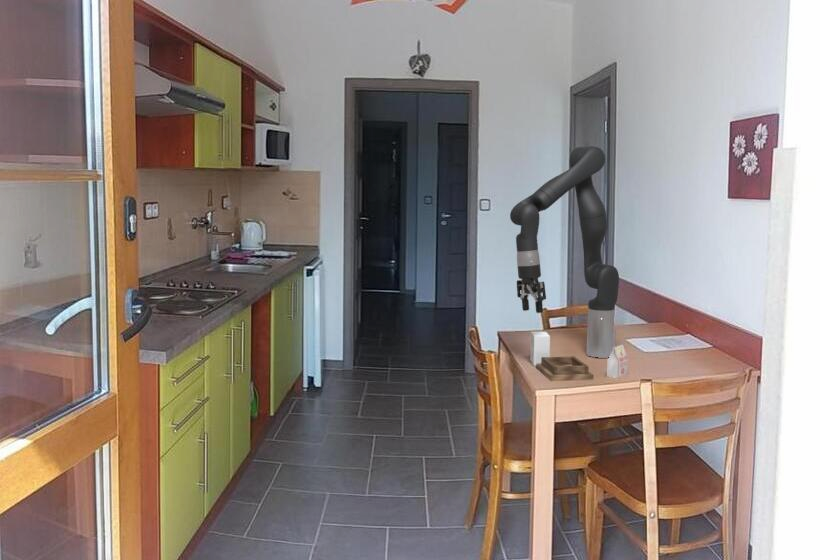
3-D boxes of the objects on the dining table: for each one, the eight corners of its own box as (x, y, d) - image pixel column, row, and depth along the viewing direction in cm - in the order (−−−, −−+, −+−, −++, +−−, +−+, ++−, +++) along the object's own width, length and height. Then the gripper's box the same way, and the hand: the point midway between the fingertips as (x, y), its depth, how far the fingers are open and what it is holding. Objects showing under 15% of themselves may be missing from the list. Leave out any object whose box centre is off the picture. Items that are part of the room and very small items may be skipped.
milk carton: (606, 377, 234) (608, 347, 233) (616, 373, 239) (617, 343, 238) (617, 379, 232) (618, 348, 230) (626, 375, 237) (628, 345, 235)
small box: (549, 366, 248) (550, 336, 246) (533, 366, 248) (534, 336, 246) (545, 360, 256) (546, 331, 254) (529, 360, 256) (530, 331, 254)
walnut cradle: (576, 366, 247) (576, 355, 247) (593, 379, 231) (593, 367, 231) (536, 367, 246) (536, 356, 245) (550, 380, 230) (551, 368, 229)
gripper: (549, 263, 238) (553, 311, 240) (527, 261, 251) (530, 308, 253) (530, 265, 235) (534, 315, 237) (508, 264, 249) (512, 311, 250)
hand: (532, 311), depth 245 cm, fingers open, 8 cm apart
